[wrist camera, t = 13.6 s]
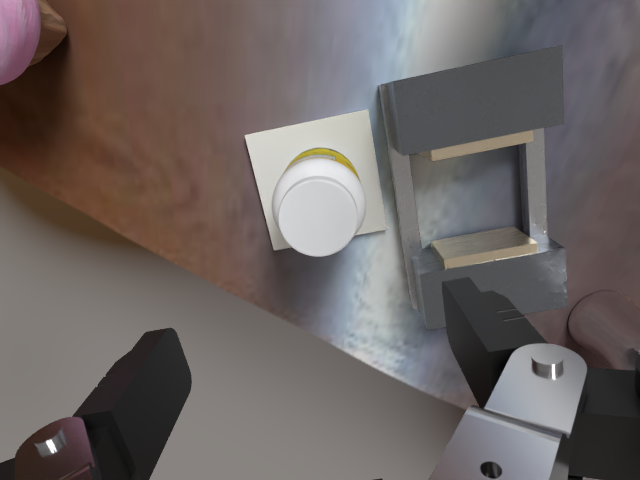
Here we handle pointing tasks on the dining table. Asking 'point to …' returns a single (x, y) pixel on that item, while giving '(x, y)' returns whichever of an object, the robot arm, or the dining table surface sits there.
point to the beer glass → (608, 328)
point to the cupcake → (27, 35)
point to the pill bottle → (319, 202)
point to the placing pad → (333, 132)
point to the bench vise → (471, 137)
